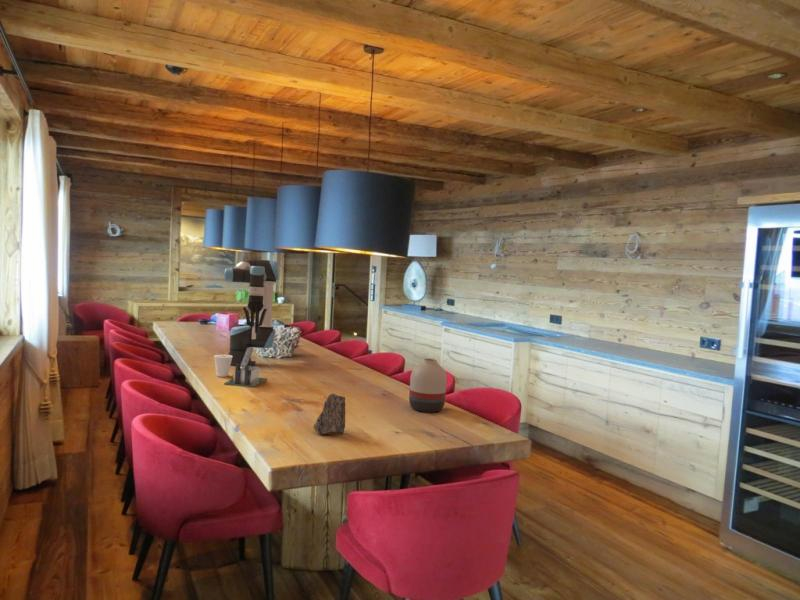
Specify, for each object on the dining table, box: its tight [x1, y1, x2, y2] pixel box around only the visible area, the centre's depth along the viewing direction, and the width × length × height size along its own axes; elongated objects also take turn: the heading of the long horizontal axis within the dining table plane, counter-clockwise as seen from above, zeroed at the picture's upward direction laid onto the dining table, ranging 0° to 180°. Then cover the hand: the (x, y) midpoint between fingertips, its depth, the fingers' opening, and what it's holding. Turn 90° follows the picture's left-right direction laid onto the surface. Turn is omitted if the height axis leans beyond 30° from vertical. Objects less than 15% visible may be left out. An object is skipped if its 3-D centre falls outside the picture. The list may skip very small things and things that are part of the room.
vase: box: [408, 358, 448, 413], centre depth 268 cm, size 17×17×24 cm
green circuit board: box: [223, 360, 268, 388], centre depth 301 cm, size 20×16×10 cm
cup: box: [213, 354, 233, 378], centre depth 312 cm, size 10×10×11 cm
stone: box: [313, 393, 346, 436], centre depth 221 cm, size 13×13×15 cm
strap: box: [239, 347, 254, 370], centre depth 299 cm, size 15×3×1 cm
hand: (253, 338), depth 306 cm, fingers closed
